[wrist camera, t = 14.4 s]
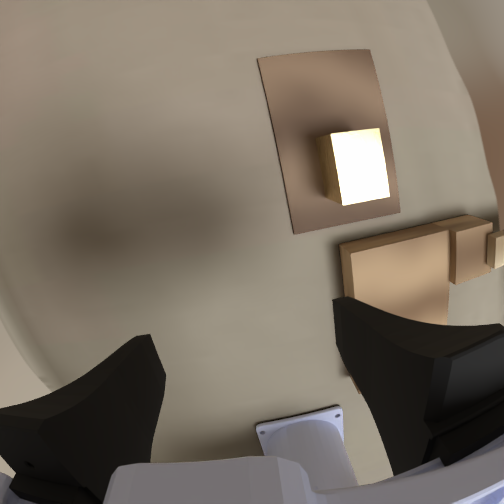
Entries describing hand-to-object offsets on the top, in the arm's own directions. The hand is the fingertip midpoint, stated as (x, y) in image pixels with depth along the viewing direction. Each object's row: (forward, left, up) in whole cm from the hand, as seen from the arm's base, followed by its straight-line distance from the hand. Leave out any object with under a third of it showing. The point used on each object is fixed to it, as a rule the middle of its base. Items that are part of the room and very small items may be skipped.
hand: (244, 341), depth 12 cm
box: (-6, -13, -10) cm, 18 cm away
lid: (+7, -8, -11) cm, 15 cm away
